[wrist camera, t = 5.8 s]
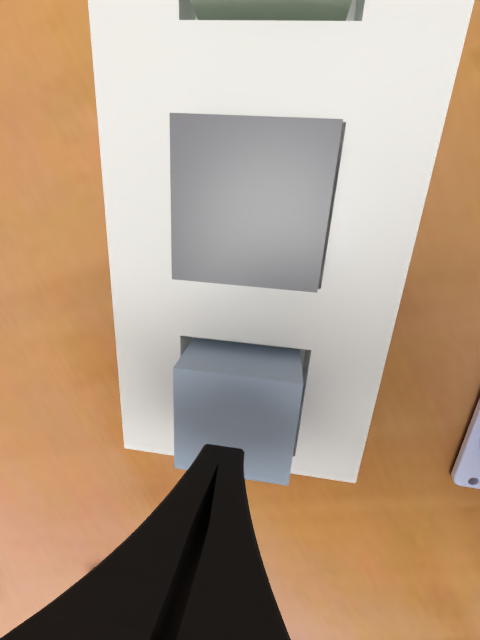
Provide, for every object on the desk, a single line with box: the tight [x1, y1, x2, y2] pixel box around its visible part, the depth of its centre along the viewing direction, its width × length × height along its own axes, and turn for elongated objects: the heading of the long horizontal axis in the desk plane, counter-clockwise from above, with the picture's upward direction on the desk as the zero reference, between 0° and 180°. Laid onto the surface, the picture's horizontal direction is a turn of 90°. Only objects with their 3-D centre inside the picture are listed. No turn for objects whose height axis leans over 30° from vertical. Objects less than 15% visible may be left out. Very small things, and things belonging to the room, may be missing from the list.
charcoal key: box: [170, 113, 343, 293], centre depth 11 cm, size 5×5×3 cm
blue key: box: [173, 338, 303, 486], centre depth 14 cm, size 5×5×3 cm
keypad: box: [88, 0, 474, 483], centre depth 13 cm, size 12×25×3 cm, turn 177°
